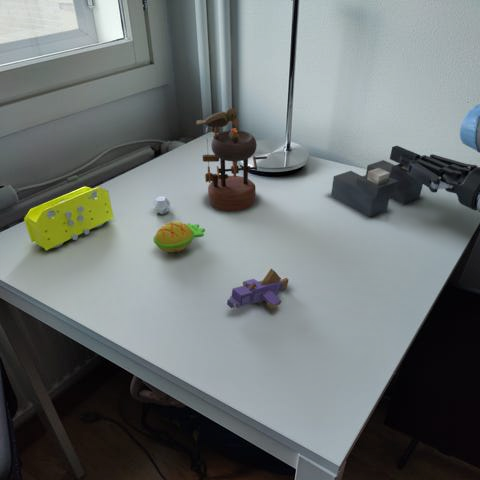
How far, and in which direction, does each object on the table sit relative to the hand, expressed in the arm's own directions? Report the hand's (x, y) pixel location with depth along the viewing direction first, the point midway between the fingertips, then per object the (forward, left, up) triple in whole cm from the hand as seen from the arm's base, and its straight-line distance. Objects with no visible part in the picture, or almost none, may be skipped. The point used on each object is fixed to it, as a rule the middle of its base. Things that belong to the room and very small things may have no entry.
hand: (393, 152), depth 102 cm
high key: (-4, +11, -2) cm, 12 cm away
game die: (+27, +44, -9) cm, 52 cm away
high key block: (0, +10, -9) cm, 13 cm away
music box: (+20, +29, -9) cm, 36 cm away
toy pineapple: (+13, +50, -9) cm, 52 cm away
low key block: (-2, 0, -9) cm, 9 cm away
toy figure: (-9, +51, -9) cm, 52 cm away
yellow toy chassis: (+32, +62, -9) cm, 70 cm away
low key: (-6, +1, -4) cm, 7 cm away
